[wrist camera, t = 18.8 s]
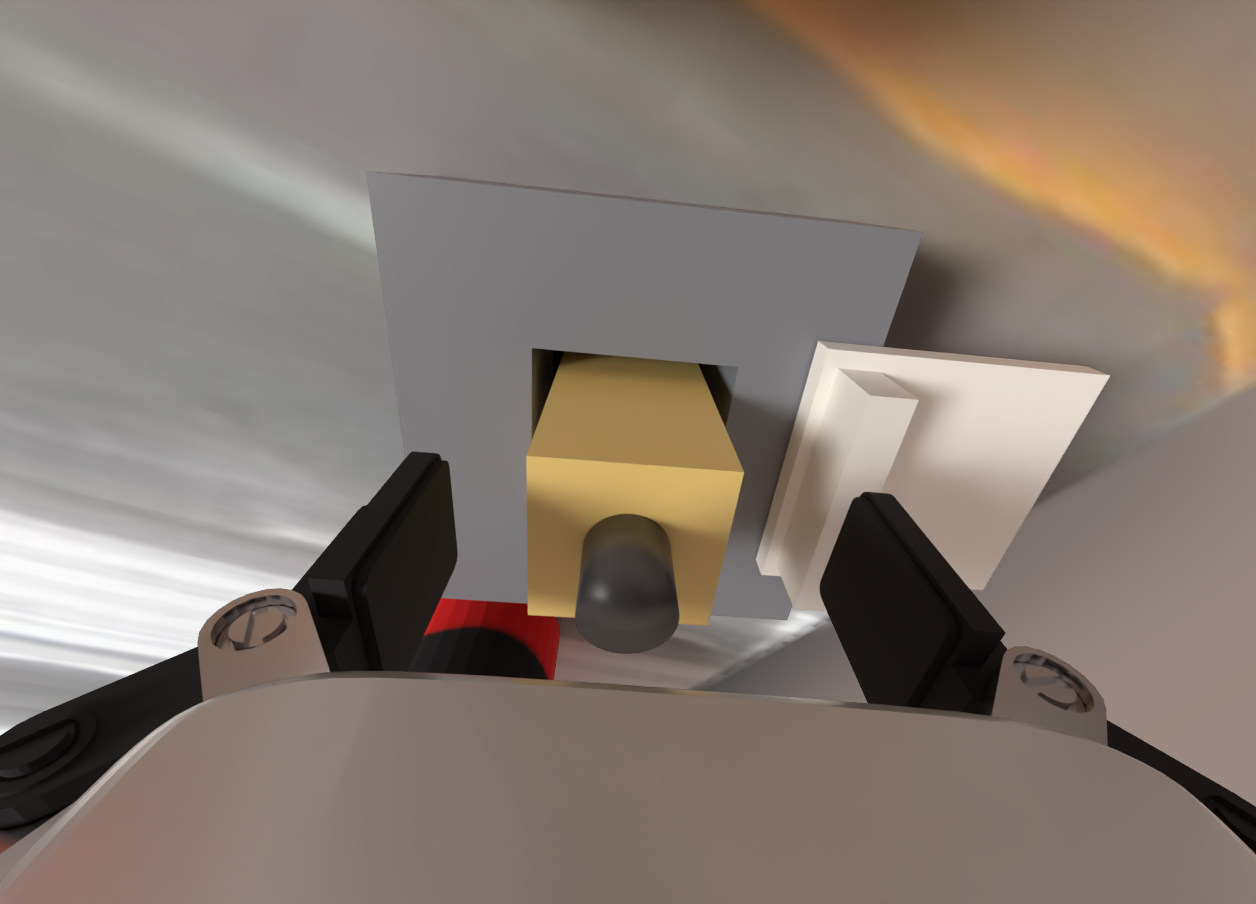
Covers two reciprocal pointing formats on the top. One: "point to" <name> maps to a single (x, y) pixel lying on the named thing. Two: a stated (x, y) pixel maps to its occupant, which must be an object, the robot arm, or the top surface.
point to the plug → (628, 499)
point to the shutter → (920, 453)
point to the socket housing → (609, 336)
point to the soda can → (488, 641)
